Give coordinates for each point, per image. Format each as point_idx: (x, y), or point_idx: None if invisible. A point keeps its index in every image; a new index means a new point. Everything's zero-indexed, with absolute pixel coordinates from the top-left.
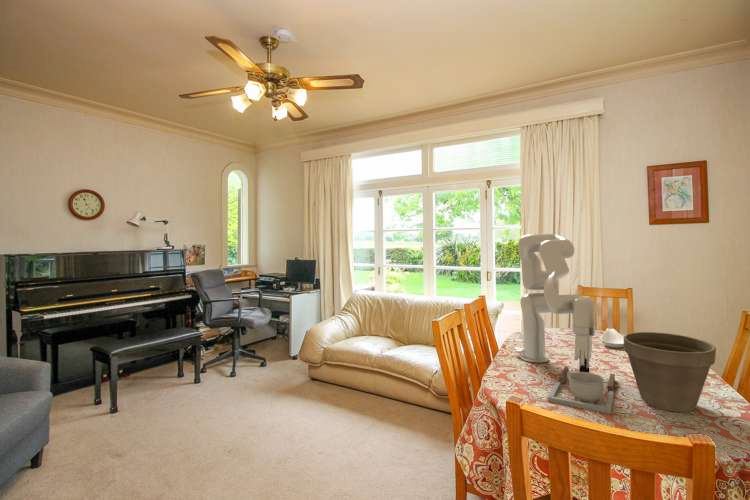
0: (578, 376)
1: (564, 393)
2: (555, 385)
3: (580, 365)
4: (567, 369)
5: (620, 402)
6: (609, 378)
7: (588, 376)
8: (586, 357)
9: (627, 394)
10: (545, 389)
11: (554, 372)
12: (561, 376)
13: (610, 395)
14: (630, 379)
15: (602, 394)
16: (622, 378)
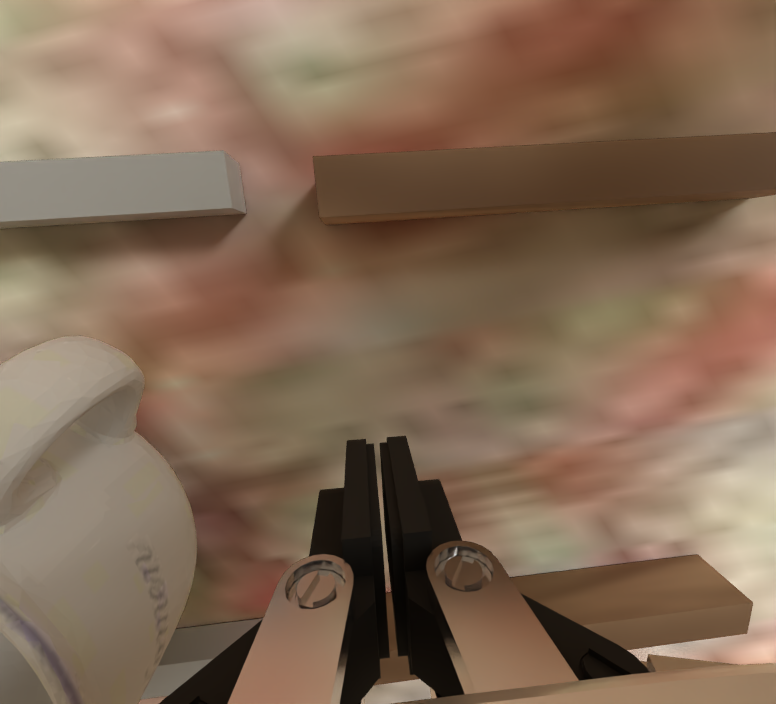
0: (30, 539)
1: (53, 301)
2: (65, 176)
3: (265, 628)
4: (724, 192)
5: None
6: (591, 626)
7: (104, 667)
8: None
9: (406, 696)
10: (4, 71)
11: (708, 28)
12: (374, 184)
13: (189, 676)
14: (760, 656)
15: (20, 692)
16: (763, 613)
